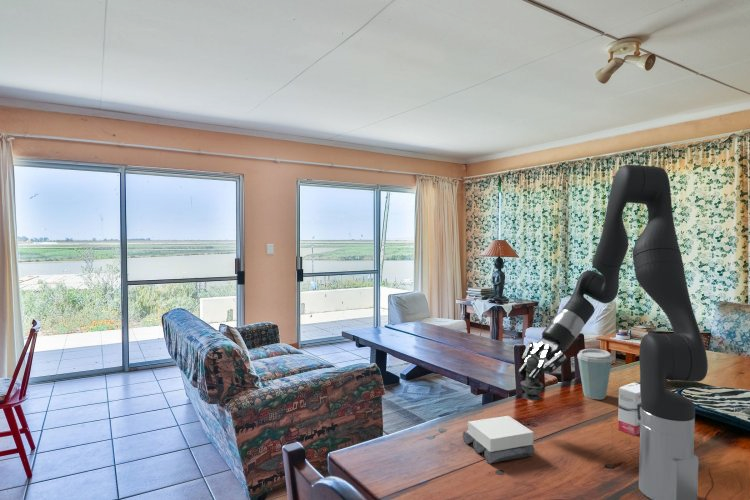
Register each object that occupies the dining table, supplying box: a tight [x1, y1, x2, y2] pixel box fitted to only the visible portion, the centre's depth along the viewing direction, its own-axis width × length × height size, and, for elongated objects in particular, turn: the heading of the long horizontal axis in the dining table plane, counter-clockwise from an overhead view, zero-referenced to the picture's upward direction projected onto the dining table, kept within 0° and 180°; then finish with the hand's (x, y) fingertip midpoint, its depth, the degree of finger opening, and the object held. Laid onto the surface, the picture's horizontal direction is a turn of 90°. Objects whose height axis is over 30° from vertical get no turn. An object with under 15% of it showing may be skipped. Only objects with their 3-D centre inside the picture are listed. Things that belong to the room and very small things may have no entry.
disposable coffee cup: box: [577, 348, 613, 400], centre depth 145 cm, size 11×11×15 cm
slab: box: [467, 415, 535, 452], centre depth 107 cm, size 10×12×3 cm
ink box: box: [617, 382, 641, 436], centre depth 120 cm, size 8×5×12 cm, turn 123°
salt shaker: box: [520, 353, 544, 402], centre depth 117 cm, size 6×6×12 cm
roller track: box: [462, 430, 536, 464], centre depth 109 cm, size 13×12×3 cm
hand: (526, 377), depth 117 cm, fingers closed on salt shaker, 3 cm apart
